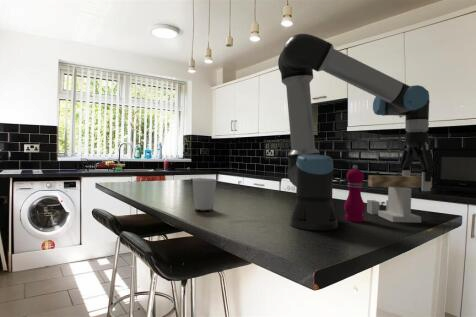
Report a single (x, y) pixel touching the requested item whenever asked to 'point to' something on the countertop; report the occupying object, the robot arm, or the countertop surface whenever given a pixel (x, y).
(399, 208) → the ridge stand
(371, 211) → the rest blocks
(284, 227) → the countertop surface
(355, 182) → the pepper mill
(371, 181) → the oak batten
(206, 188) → the cup
